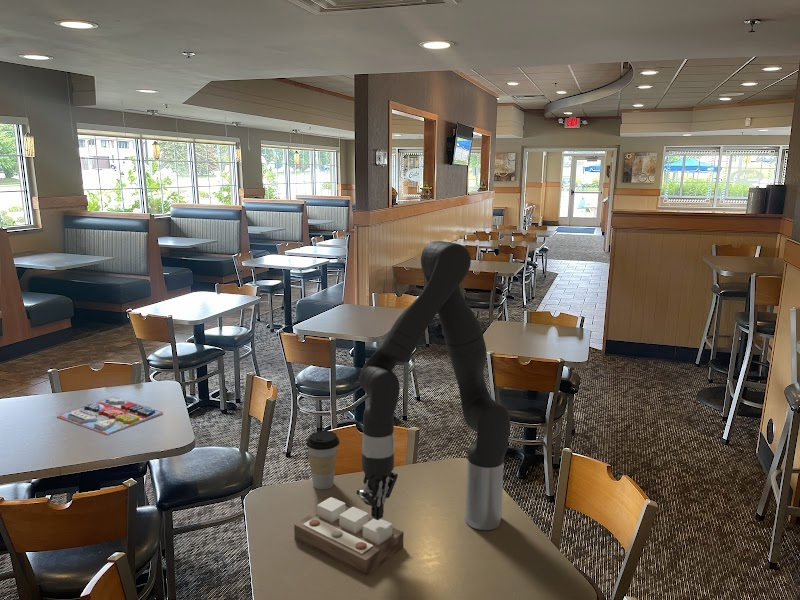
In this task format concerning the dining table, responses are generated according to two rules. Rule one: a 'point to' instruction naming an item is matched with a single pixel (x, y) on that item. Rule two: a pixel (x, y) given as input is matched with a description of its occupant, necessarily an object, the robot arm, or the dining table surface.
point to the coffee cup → (323, 458)
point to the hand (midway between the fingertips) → (377, 517)
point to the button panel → (346, 543)
